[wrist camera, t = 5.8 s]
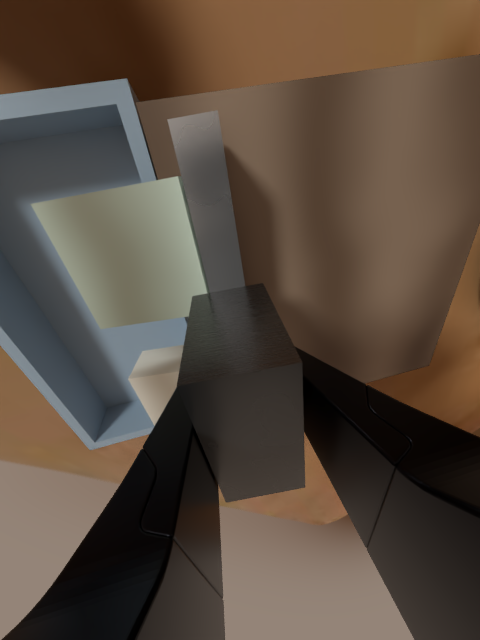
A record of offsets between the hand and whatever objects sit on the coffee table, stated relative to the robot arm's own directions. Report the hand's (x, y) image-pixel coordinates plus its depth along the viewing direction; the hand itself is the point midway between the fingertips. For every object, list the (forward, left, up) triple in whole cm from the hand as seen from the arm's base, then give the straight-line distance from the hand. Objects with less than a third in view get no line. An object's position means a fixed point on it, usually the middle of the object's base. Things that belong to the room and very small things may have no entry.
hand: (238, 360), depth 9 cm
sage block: (+2, -4, -4) cm, 6 cm away
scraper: (0, 0, -3) cm, 3 cm away
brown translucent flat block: (-6, 0, -9) cm, 11 cm away
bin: (+6, 0, -9) cm, 11 cm away
